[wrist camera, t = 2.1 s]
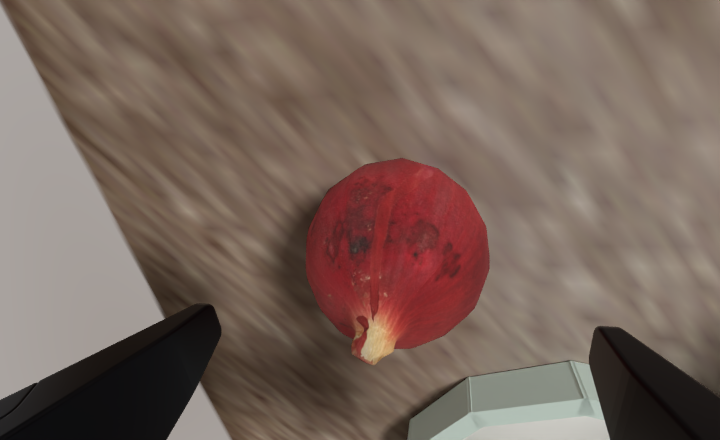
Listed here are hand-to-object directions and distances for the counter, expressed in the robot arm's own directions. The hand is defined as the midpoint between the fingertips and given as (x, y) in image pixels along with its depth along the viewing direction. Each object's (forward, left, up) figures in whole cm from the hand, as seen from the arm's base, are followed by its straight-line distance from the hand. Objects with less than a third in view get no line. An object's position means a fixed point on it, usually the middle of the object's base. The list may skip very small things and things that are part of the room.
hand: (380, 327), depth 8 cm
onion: (0, 0, -8) cm, 8 cm away
